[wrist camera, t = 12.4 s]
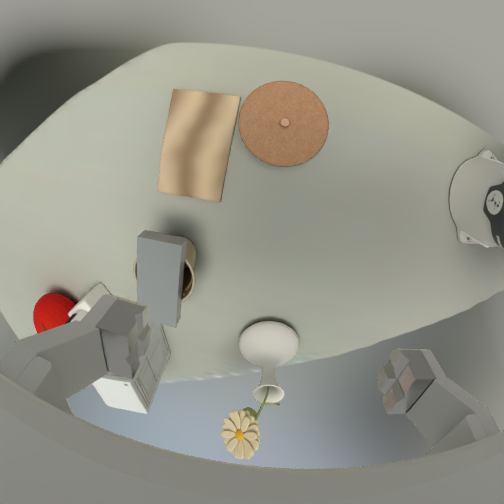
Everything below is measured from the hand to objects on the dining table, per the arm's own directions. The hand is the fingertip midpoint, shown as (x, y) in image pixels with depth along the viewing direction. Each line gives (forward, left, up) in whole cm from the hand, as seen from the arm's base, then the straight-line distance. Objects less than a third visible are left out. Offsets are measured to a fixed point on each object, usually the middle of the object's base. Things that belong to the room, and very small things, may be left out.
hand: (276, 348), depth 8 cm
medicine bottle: (+28, +30, -35) cm, 54 cm away
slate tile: (+12, +15, -27) cm, 33 cm away
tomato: (+38, +36, -35) cm, 63 cm away
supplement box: (+18, +36, -35) cm, 54 cm away
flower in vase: (-6, +30, -35) cm, 47 cm away
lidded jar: (0, -8, -35) cm, 36 cm away
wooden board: (+11, -3, -35) cm, 37 cm away
